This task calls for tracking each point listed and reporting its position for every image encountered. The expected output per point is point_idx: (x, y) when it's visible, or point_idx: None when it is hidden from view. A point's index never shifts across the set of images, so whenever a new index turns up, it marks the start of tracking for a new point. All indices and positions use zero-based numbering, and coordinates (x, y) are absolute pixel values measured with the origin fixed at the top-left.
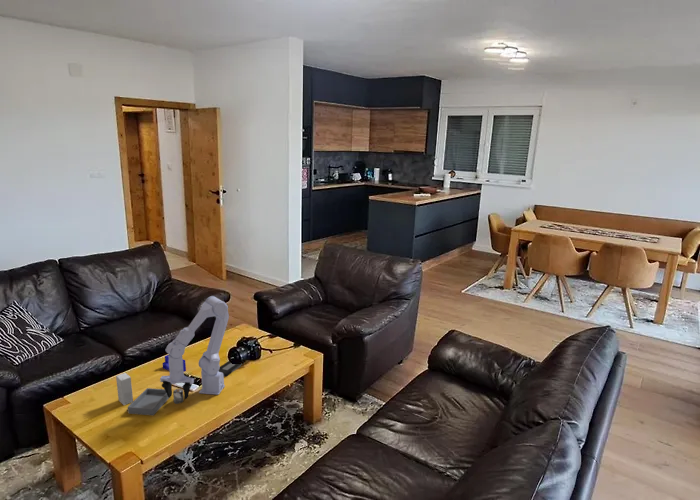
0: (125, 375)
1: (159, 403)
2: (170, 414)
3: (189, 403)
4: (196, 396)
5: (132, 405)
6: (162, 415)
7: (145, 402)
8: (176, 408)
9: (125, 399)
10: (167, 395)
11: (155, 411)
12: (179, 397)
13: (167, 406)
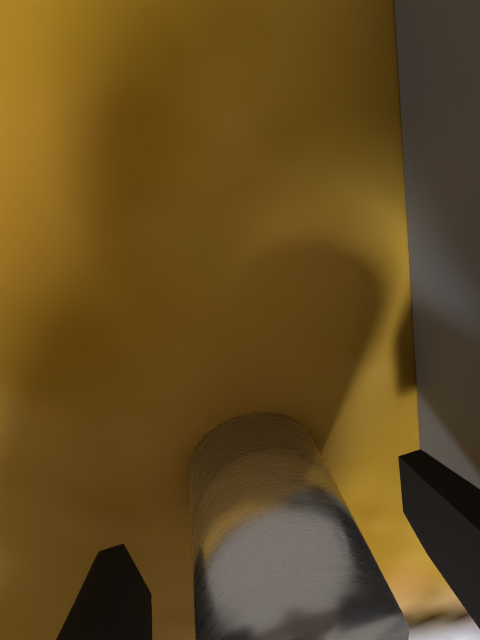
0: None
1: (476, 228)
2: (85, 122)
3: (65, 497)
4: None
5: None
6: (212, 21)
7: None
8: (142, 325)
9: None
10: (464, 478)
11: (417, 39)
12: (208, 529)
13: (321, 308)
